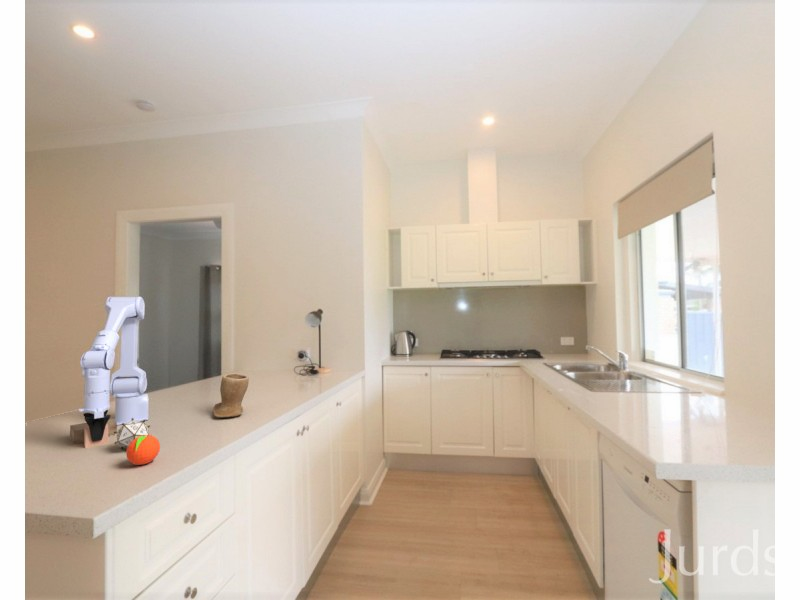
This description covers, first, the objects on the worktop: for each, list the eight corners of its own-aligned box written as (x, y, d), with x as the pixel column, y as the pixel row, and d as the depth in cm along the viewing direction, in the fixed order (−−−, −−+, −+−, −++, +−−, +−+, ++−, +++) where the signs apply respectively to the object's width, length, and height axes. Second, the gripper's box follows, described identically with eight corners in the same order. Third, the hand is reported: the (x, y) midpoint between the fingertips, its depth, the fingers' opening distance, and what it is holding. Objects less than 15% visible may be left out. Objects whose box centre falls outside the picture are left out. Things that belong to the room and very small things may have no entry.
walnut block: (111, 430, 118) (111, 418, 118) (116, 435, 112) (116, 422, 112) (69, 438, 110) (70, 425, 110) (73, 444, 105) (74, 430, 105)
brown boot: (249, 417, 130) (249, 375, 131) (212, 421, 125) (212, 378, 126) (247, 407, 144) (247, 369, 145) (213, 411, 139) (214, 372, 140)
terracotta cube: (106, 439, 108) (106, 422, 109) (108, 443, 105) (108, 426, 105) (84, 443, 105) (84, 426, 105) (85, 448, 101) (85, 430, 101)
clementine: (152, 469, 87) (153, 439, 87) (118, 473, 85) (119, 442, 85) (163, 456, 94) (164, 429, 95) (133, 460, 92) (133, 432, 93)
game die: (141, 460, 101) (165, 430, 103) (110, 460, 94) (137, 428, 95) (129, 439, 106) (152, 411, 107) (98, 438, 98) (124, 407, 100)
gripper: (77, 389, 108) (76, 435, 107) (80, 397, 97) (79, 448, 97) (107, 386, 113) (106, 430, 112) (113, 393, 102) (112, 441, 102)
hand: (96, 438), depth 105 cm, fingers closed on terracotta cube, 5 cm apart
